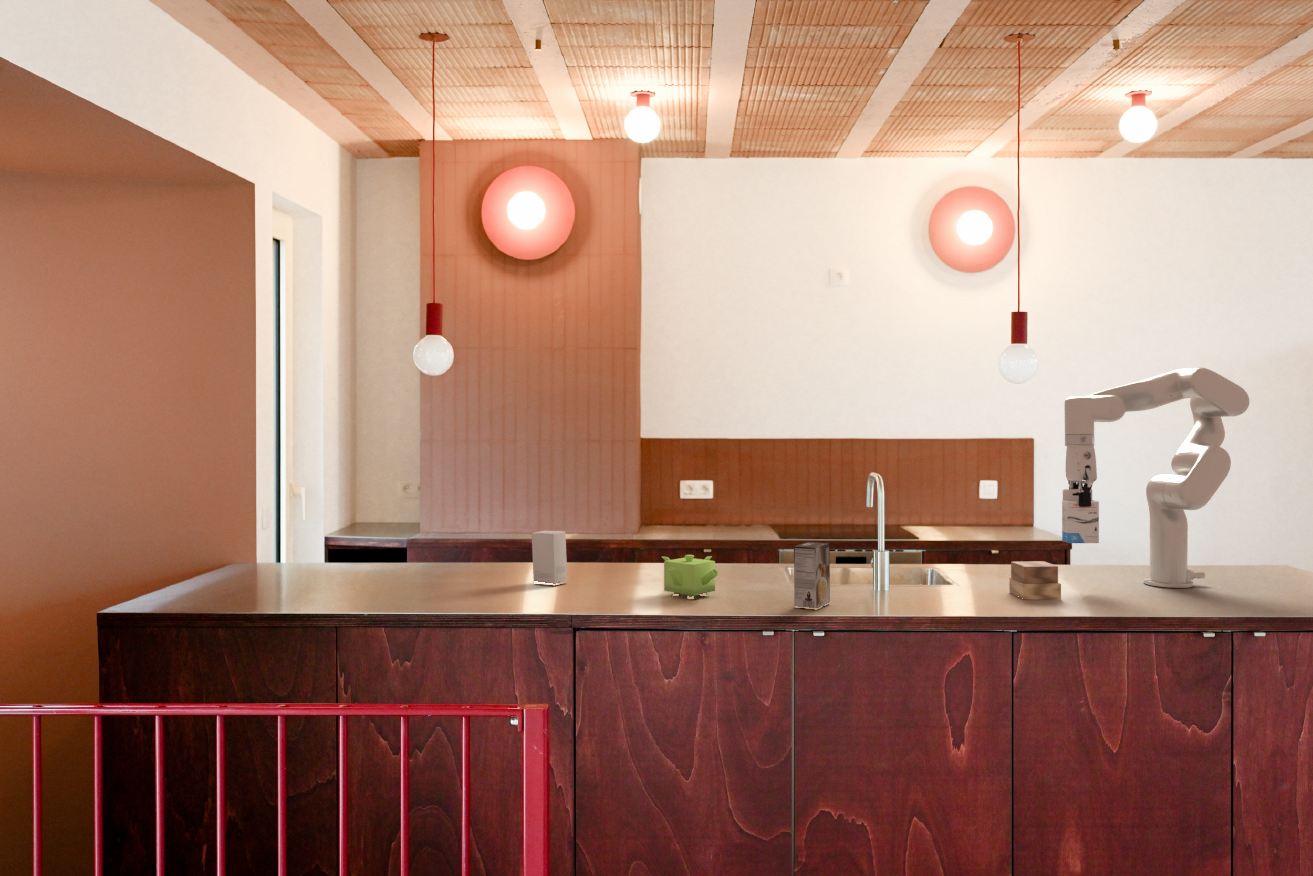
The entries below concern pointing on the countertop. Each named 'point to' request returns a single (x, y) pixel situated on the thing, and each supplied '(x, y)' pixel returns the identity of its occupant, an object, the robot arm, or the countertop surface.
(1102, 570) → the countertop surface
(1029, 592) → the tower base
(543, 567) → the skincare box
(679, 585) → the kettle
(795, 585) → the coffee box
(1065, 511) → the ink box
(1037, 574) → the tower top
